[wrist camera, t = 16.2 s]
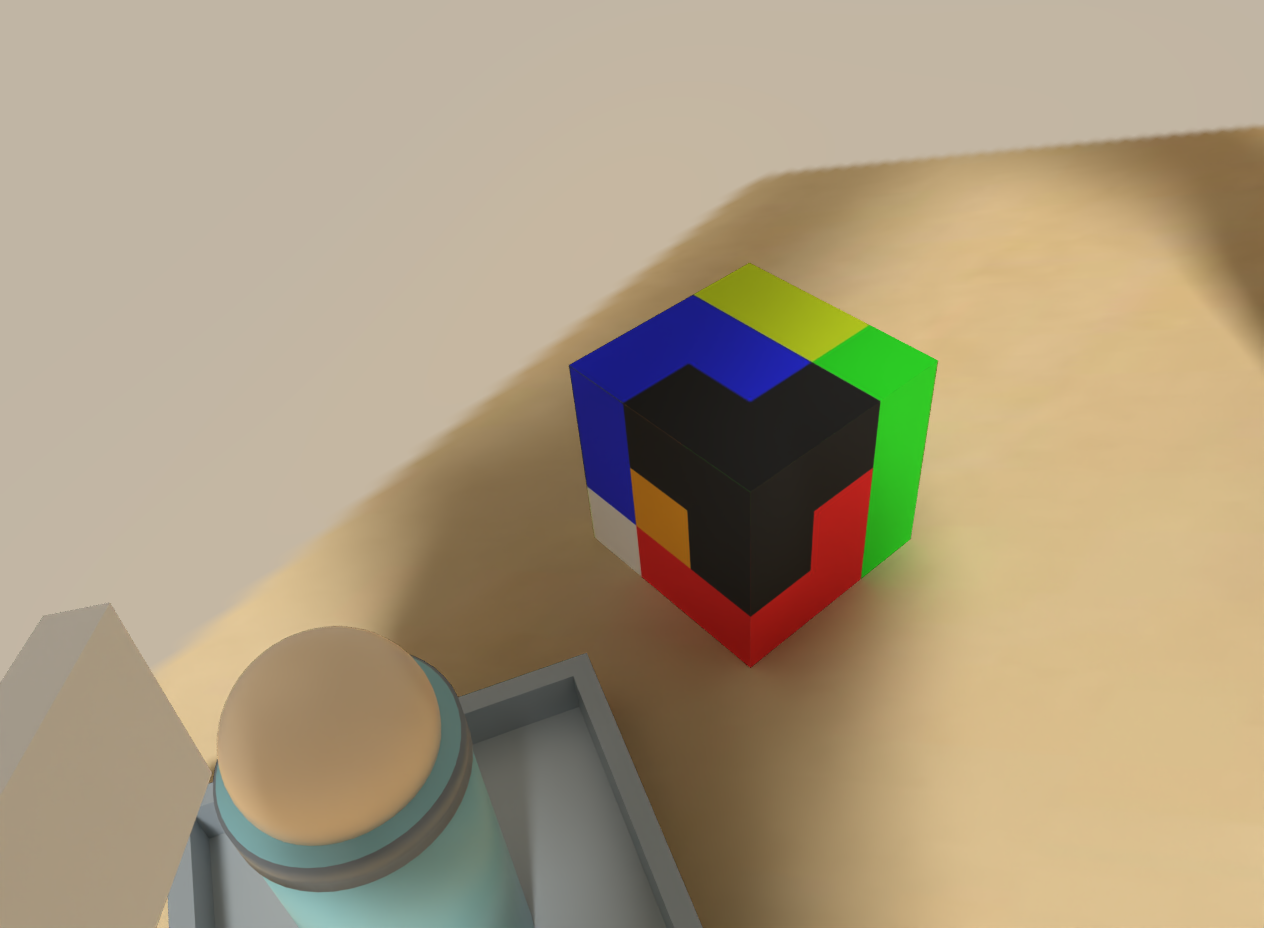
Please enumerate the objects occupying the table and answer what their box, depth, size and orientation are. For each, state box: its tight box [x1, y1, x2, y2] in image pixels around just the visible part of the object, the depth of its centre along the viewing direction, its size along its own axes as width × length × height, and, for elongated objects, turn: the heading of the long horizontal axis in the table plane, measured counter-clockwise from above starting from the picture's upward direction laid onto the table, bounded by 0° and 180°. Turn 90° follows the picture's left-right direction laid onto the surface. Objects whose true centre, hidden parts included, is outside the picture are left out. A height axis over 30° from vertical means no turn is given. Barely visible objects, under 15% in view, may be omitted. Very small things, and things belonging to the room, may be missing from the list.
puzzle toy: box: [569, 263, 938, 668], centre depth 44 cm, size 10×10×10 cm
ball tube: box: [213, 626, 534, 928], centre depth 29 cm, size 6×6×15 cm
